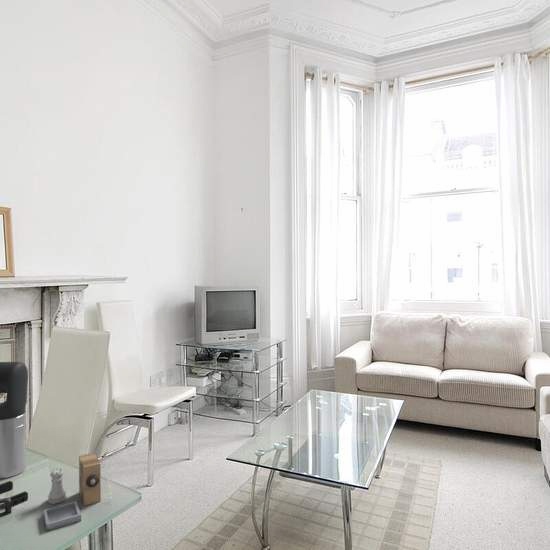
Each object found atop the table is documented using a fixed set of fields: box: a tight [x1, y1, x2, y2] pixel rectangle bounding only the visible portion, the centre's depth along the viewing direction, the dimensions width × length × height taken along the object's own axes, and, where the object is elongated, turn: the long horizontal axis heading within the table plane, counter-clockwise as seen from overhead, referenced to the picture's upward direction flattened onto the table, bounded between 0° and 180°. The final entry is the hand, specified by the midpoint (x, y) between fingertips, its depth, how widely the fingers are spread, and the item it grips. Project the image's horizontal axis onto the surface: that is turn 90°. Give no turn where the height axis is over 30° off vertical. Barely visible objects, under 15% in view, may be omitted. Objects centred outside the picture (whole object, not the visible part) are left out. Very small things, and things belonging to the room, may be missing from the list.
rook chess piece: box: [47, 467, 67, 505], centre depth 113 cm, size 4×4×8 cm
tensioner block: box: [78, 452, 102, 507], centre depth 114 cm, size 9×4×10 cm, turn 33°
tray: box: [43, 500, 82, 532], centre depth 105 cm, size 7×7×2 cm
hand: (19, 490), depth 105 cm, fingers open, 8 cm apart
